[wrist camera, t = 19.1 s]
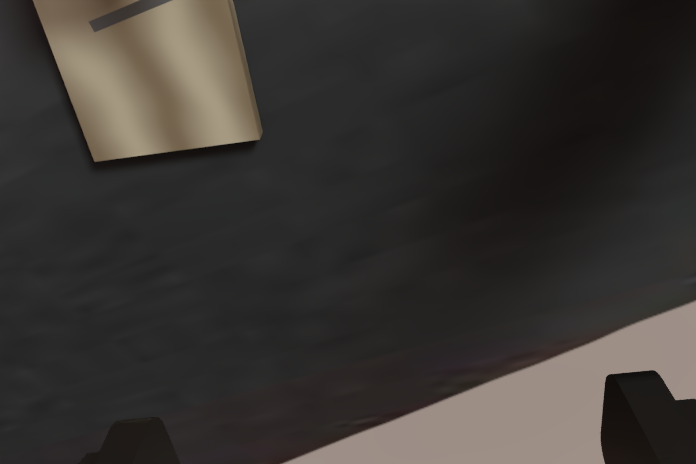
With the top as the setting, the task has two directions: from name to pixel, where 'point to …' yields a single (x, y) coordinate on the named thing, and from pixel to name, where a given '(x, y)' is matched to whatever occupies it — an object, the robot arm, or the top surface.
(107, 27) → the board
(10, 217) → the top surface
